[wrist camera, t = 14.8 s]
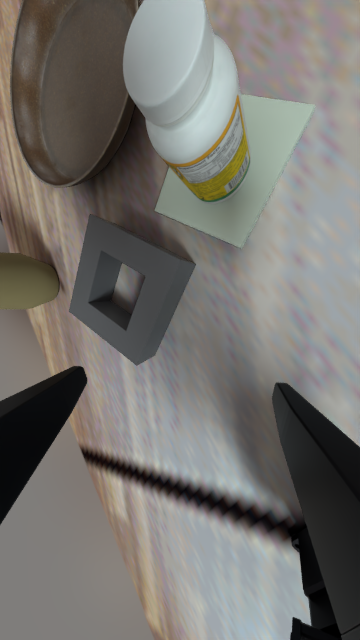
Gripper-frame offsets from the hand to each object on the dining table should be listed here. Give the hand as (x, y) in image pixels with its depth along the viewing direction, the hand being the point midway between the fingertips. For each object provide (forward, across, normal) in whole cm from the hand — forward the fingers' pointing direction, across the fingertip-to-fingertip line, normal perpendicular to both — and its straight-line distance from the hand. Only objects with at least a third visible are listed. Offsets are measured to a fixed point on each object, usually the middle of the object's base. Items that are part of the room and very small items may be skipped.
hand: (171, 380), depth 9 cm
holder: (+15, +8, 0) cm, 17 cm away
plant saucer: (+23, +14, -21) cm, 34 cm away
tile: (+15, -2, -11) cm, 18 cm away
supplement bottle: (+14, -2, -11) cm, 18 cm away
